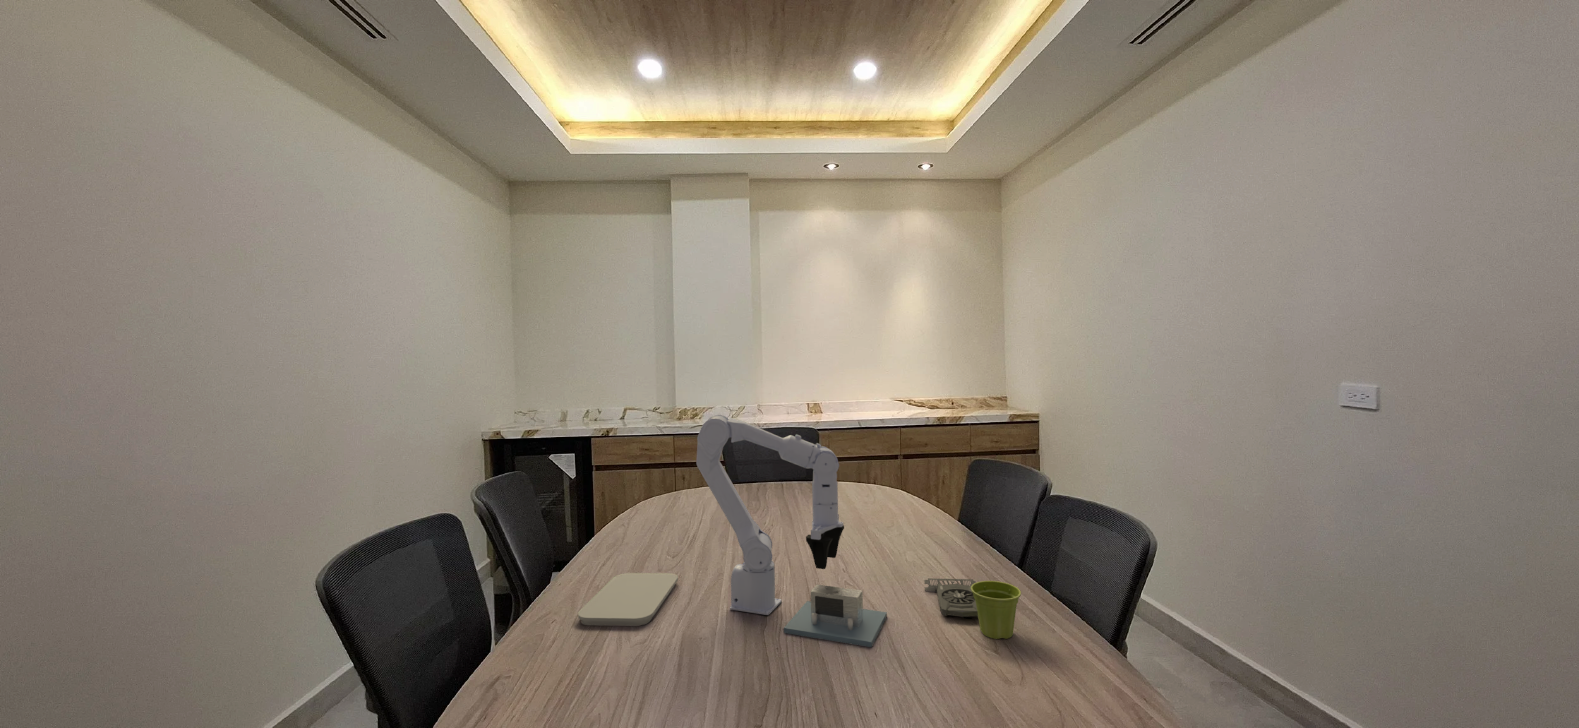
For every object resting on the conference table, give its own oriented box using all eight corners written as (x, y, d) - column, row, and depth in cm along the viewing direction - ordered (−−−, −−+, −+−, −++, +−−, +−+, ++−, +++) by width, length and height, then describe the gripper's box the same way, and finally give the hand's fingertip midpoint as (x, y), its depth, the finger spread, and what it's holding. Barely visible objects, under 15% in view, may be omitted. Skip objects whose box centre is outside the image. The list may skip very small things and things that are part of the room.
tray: (783, 632, 117) (783, 617, 117) (807, 605, 130) (806, 591, 130) (871, 647, 110) (871, 631, 110) (886, 616, 123) (886, 602, 123)
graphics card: (924, 576, 138) (976, 577, 136) (924, 592, 138) (977, 593, 136) (927, 606, 121) (987, 608, 119) (928, 624, 121) (988, 626, 119)
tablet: (572, 628, 121) (572, 617, 121) (618, 581, 147) (617, 572, 147) (648, 629, 120) (648, 618, 120) (680, 582, 146) (680, 573, 146)
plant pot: (1010, 649, 108) (1009, 602, 108) (963, 634, 115) (962, 590, 115) (1029, 631, 115) (1028, 588, 115) (983, 618, 122) (982, 577, 122)
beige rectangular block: (810, 620, 120) (810, 591, 120) (817, 612, 123) (816, 584, 123) (857, 627, 116) (857, 597, 116) (862, 619, 120) (862, 590, 120)
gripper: (832, 511, 122) (833, 575, 122) (850, 496, 135) (851, 554, 135) (801, 508, 124) (802, 571, 124) (822, 494, 138) (823, 551, 138)
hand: (826, 562), depth 130 cm, fingers open, 7 cm apart
